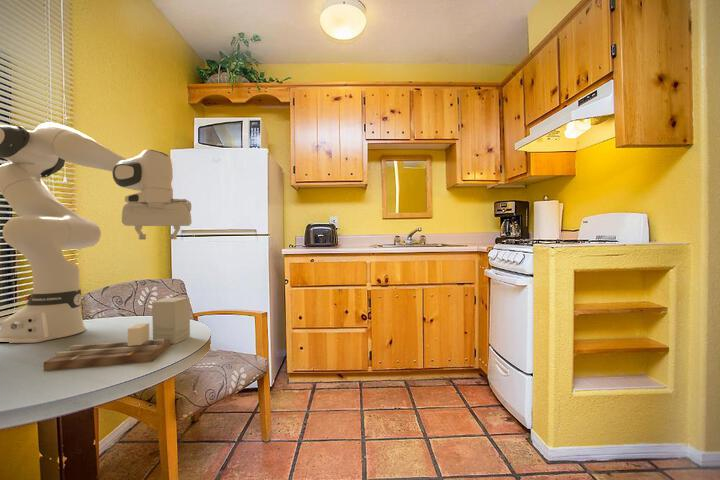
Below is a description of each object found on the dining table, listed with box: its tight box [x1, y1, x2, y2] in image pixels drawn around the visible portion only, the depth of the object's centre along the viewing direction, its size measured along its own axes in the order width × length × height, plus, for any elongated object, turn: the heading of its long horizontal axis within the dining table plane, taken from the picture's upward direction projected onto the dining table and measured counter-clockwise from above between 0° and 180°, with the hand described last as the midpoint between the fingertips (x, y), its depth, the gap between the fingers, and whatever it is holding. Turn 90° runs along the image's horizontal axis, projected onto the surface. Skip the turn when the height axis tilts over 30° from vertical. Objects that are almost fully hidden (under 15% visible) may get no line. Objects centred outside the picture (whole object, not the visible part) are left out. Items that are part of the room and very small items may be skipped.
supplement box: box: [151, 297, 191, 345], centre depth 97 cm, size 7×7×13 cm
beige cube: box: [125, 322, 153, 347], centre depth 84 cm, size 5×5×5 cm
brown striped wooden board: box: [43, 339, 171, 371], centre depth 83 cm, size 23×12×3 cm, turn 103°
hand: (158, 239), depth 107 cm, fingers open, 8 cm apart
